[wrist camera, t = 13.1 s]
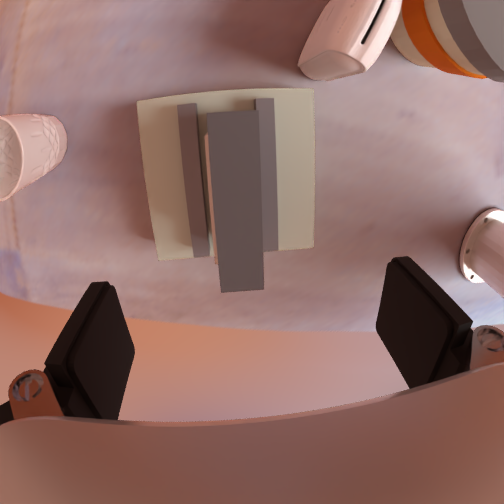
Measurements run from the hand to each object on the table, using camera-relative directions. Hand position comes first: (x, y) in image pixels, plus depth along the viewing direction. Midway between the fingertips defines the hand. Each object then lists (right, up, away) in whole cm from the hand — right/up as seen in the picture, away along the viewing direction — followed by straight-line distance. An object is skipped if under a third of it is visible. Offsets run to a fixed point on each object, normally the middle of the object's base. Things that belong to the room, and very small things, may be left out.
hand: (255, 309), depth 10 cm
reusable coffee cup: (+20, +28, +16) cm, 38 cm away
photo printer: (+8, +24, +17) cm, 30 cm away
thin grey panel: (-2, +9, +18) cm, 20 cm away
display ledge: (-2, +11, +22) cm, 24 cm away
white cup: (-24, +14, +18) cm, 33 cm away
